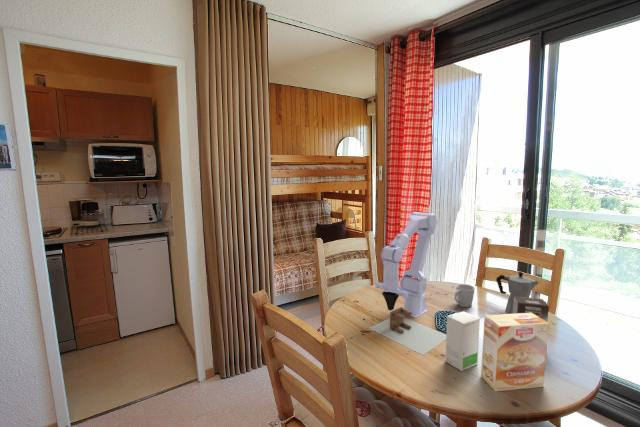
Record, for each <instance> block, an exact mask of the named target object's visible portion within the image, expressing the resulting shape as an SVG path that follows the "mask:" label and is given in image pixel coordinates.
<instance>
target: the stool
mask: <svg viewBox="0 0 640 427" xmlns="http://www.w3.org/2000/svg"><path fill="white" fill-rule="evenodd" d="M404 313H405V314H404ZM411 314H412V313H411V312H409V311H407V310H404V307H398V308H397V309H393V310H391V311H390V313H389V318H390V330H396V331H398V332H400V333H402V334H403V333H404V330H402V329H400V328H398V327H400V326H403V327H406V328H408V329H411V326H410V325H408V324H405V323H403V319H404V317H405V316H404V315H406V316H407V315H408V316H409V315H410V316H409V317H412V316H411Z"/></svg>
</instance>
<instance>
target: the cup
mask: <svg viewBox="0 0 640 427" xmlns="http://www.w3.org/2000/svg"><path fill="white" fill-rule="evenodd" d="M455 289H456V290H455V292H454V294H453V295H454V296H453V297H454V301H455V302H456V303H457V304H458V306H460V307H462V308H470V307H472V306H473V300H474V297H475V296H474V294H475V289H476V288H475V286H473V285H470V284H465V283H464V284H463V283H459V284H457V285H456V286H455Z"/></svg>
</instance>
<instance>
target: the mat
mask: <svg viewBox="0 0 640 427" xmlns="http://www.w3.org/2000/svg"><path fill="white" fill-rule="evenodd" d="M403 323H405V324H408V325H410V326H411V329H408V328H406V327H403V326H400V327H398V328H400V329H402V330H404V333H403V334H402V333H400V332H398V331H396V330H390V317H389V318H387V319H384V320H383V321H381V322H378V323H377V324H375V325H372V326H371V327H369V328H368V329H369V330H372V331H374V332H375V333H378V334H379V335H381V336H384V337H385V338H387V339H389V340H391V341H394V342H395V343H398V344H400V345H402V346H404V347H406V348H408V349H410V350H412V351H414V352H416V353H418V354H420V355H422V356H424V355H425V354H427V353H428V352H430V351H431V350H432V349H434V348H436V347H437V346H439V345H440V344H441V343H443V342H444V341H446V333H443V332H441V331H438V330H436V329H433V328H431V327H429V326H426V325H424V324H421V323H419V322H417V321H415V320H412V319H409V318H407V317H405V316H404V319H403Z"/></svg>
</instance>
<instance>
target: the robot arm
mask: <svg viewBox="0 0 640 427" xmlns="http://www.w3.org/2000/svg"><path fill="white" fill-rule="evenodd" d="M408 218H409V219H408V223H407V225H406V227H405V228H404V230H403V231H402V233H397V235H396V236H395V237H394V239H393V240H392V241H391V242H390V244H389V245H387V246H386V245H385V247H383V248H382V249H381V253H380V257H381V260H382V265H383V282H381V281H380V282H379V281H378V282H375V288H376V289H381V290H382V293H381V294H382V296H383V298H384V300H385V303H386V307H387V311H390V312H392V311H394V310H395V305H396V303H397V300H398V298H399V297H400V296H401V297H402V298H403V308H404V310H407V311H409V312H411V313H412V314H411V316H410V315H408V316H409V317H412V318H417V317H419V316H422V315H424V314H426V313H427V312H428V310H427V308H426V305H427V304H426V303H427V297H426V294H425V292H426V290H427V281H428V278H427V276H425V274H424V273H423V270H424V267H425V266H424V265H425V262H426V259H427V258H426V257H427V254H428V250H429V246H430V242H431V238H432V235H433V234H435V230H436V226H437V223H438V222H437V221H438V220H437V216H436V214H435V213H432V212H431V213H428V212H419V211H413V212H411V214H410V215H409V217H408ZM416 233H417V234H418V236H417V239H416V245H415V248H414V252H413V257H412V260H411V262H410V269H407V270H406V271H404V272H403V275H402V277H401V279H400V281H399V277H400V274H399V273H400V272H399V271H400V270H399V267H400V261H402V258H403V255H404V254H405V253H404V250H406V248H407V247H408V245H409V244H410V238H411V237H412V236H413V235H414V234H416ZM404 315H406V314H405V313H404Z"/></svg>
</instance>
